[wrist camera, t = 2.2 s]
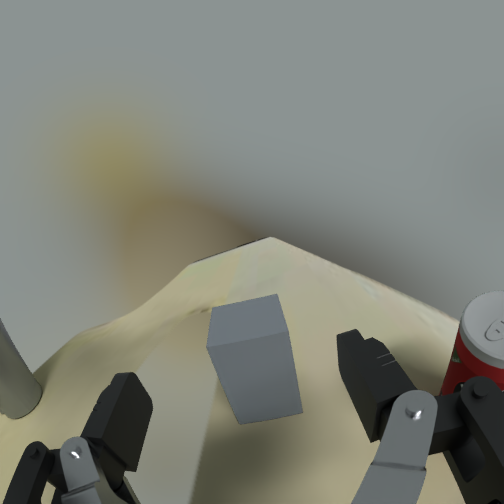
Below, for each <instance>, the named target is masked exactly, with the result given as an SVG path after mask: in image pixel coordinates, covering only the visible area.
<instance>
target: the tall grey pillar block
mask: <svg viewBox="0 0 504 504" xmlns="http://www.w3.org/2000/svg"><path fill="white" fill-rule="evenodd" d="M206 348H207V350H208V353H209V355H210V358H211V360H212V363H213V365H214V368H215V370H216V372H217V375H218V377H219V380H220V382H221V384H222V387H223V389H224V391H225V393H226V396H227V398H228V400H229V402H230V405H231V407H232V409H233V411H234V413H235V416H236V418H237V420H238V422H239V424H246V423H253V422H259V421H265V420H271V419H276V418H281V417H286V416H290V415H295V414H299V413H303V410H302V404H301V399H300V393H299V387H298V381H297V375H296V370H295V364H294V358H293V353H292V347H291V342H290V337H289V331H288V328H287V324H286V321H285V318H284V315H283V311H282V308H281V305H280V301H279V298H278V295H277V294H274V295H270V296H265V297H261V298H256V299H251V300H247V301H242V302H237V303H233V304H228V305H223V306H218V307H213V308H212V313H211V320H210V326H209V333H208V340H207V346H206Z"/></svg>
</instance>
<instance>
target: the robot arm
mask: <svg viewBox="0 0 504 504" xmlns="http://www.w3.org/2000/svg"><path fill="white" fill-rule="evenodd" d="M337 350H338V365H339V371H340V374H341V377H342V380H343V382H344V384H345V386H346V389H347V391H348V393H349V395H350V397H351V400H352V402H353V404H354V406H355V409H356V411H357V413H358V415H359V417H360V420H361V422H362V424H363V427H364V429H365V431H366V433H367V436H368V438H369V440H370V443H371V442H374V441H377V440H380V445H379V448H378V450H377V453H376V455H375V458H374V460H373V462H372V463H371V464H370V466H369V468H368V471H367V473H366V475H365V477H364V479H363V481H362V483H361V485H360V487H359V489H358V491H357V493H356V495H355V497H354V499H353V501H352V503H351V504H416V503H417V500H418V497H419V495H420V492H421V489H422V486H423V483H424V479H425V476H426V468H425V465H426V460H427V457H428V455H432V454H436V453H440V452H443V454H444V456H445V459H446V461H447V463H448V465H449V467H450V469H451V471H452V473H453V475H454V478H455V480H456V482H457V484H458V487H459V489H460V491H461V494H462V496H463V498H464V501H465V503H466V504H504V393H503V392H502V391H501V389H500V388H499V387H498V386H497V384H496V383H495V382H494V381H493V380H491V379H490V378H488V377H484V376H476V377H472V378H470V379H469V380H467V381H466V382H465V383H464V385H463V386H462V388H461V391H460V392H456V393H451V394H447V395H443V396H433V395H431V394H430V393H428V392H426V391H423V390H417V388H416V387H415V386H414V385H413V383H412V382H411V380H410V379H409V378H408V376H407V375H406V373H405V372H404V371H403V369H402V368H401V366H400V365H399V364H398V362H397V361H395V358H394V357H393V356H392V354H390V352H389V350H388V349H387V348H386V346H385V345H384V344H383V343H382V342H380V341H378V340H376V339H375V338H373V337H372V338H369V339H366V340H364V338H363V337H362V336H361V334H360V333H359V331H358V330H357V329H354V330H351V331H347V332H344V333H341V334H338V335H337ZM41 394H42V389H41V386H40V385H39V383H38V382H37V381H36V379H35V378H34V376H33V375H32V373H31V372H30V370H29V369H28V367H27V365H26V364H25V362H24V360H23V359H22V357H21V356H20V354H19V352H18V351H17V349H16V347H15V345H14V344H13V342H12V340H11V338H10V336H9V335H8V332H7V331H6V329H5V327H4V325H3V323H2V321H1V319H0V413H1V414H5V415H6V416H7V417H9V418H12V419H17V418H20V417H23V416H25V415H26V414H28V413H29V412H30V411H31V410H32V409H33V408H34V407H35V406H36V405H37V403H38V402H39V400H40V397H41ZM152 411H153V404H152V400H151V398H150V396H149V395H148V393H147V392H146V390H145V388H144V387H143V386H142V384H141V382H140V380H139V379H138V377H137V375H136V374H135V373H133V372H129V373H117V374H115V376H114V378H113V380H112V382H111V384H110V385H108V386H107V388H106V389H105V390H104V391H103V392H102V393H101V394H100V396H99V398H98V400H97V404H95V406H94V408H93V411H92V412H91V414H90V416H89V419H88V421H87V423H86V425H85V427H84V429H83V431H82V434H81V436H80V437H72V438H70V439H68V440H67V441H66V442H65V443H64V444H63V445H62V447H61V449H53V450H49V449H48V448H47V447H46V446H45V445H44V444H43V443H42V442H40V441H35V442H32V443H31V444H29V445H28V446H27V447H26V449H25V451H24V453H23V455H22V457H21V459H20V462H19V464H18V466H17V468H16V471H15V473H14V475H13V478H12V480H11V483H10V485H9V488H8V490H7V493H6V496H5V499H4V501H3V504H41V497H42V494H43V491H44V488H45V485H46V482H47V481H48V482H49V483H50V484H51V485H53V486H54V487H55V488H56V489H55V492H54V496H53V499H52V502H51V504H141V503H140V502H139V500H138V498H137V497H136V495H135V493H134V491H133V489H132V487H131V486H130V484H129V482H128V480H127V478H126V477H125V476H124V472H125V471H132V472H136V470H137V466H138V462H139V458H140V454H141V451H142V447H143V443H144V440H145V436H146V432H147V429H148V425H149V421H150V418H151V415H152Z"/></svg>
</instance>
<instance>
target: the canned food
mask: <svg viewBox="0 0 504 504" xmlns="http://www.w3.org/2000/svg"><path fill="white" fill-rule="evenodd" d="M476 376H484V377H488V378H490V379H491V380H493V381H494V382H495V383H496V384H497V386H498V387H499V388H500V389H501V391H502V392H503V393H504V291H493V292H488V293H484V294H482V295H479V296H477V297H476V298H474V299H473V300H471V301H470V302H469V303H468V304H467V305H466V307H465V309H464V310H463V314H462V317H461V320H460V324H459V328H458V332H457V336H456V340H455V344H454V348H453V352H452V355H451V359H450V363H449V366H448V369H447V373H446V376H445V379H444V382H443V385H442V388H441V391H440V393H439V396H443V395H447V394H451V393H456V392H460V391H461V388H462V386H463V385H464V383H465V382H466V381H467V380H469V379H470V378H472V377H476Z"/></svg>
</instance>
